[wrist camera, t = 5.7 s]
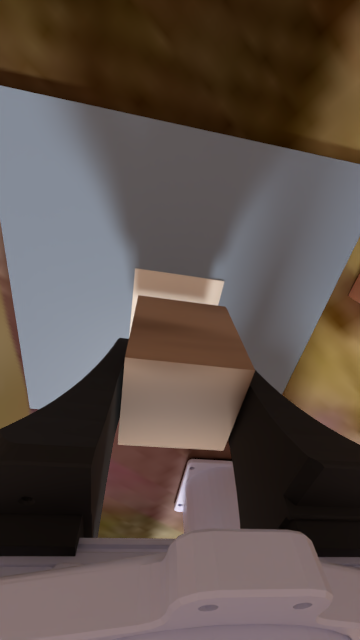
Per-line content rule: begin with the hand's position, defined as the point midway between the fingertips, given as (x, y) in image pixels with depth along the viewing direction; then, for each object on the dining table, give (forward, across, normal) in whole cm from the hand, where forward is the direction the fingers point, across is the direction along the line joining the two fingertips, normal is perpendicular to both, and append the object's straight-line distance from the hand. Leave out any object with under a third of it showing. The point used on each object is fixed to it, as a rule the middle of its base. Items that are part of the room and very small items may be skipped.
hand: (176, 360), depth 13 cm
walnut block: (+2, 0, 0) cm, 2 cm away
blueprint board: (+6, 0, 0) cm, 6 cm away
